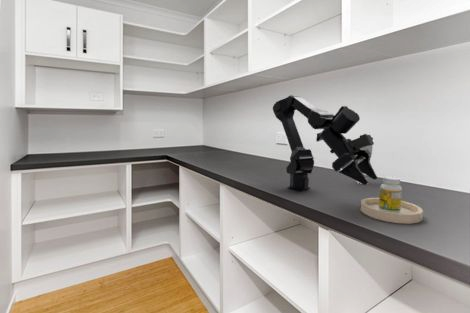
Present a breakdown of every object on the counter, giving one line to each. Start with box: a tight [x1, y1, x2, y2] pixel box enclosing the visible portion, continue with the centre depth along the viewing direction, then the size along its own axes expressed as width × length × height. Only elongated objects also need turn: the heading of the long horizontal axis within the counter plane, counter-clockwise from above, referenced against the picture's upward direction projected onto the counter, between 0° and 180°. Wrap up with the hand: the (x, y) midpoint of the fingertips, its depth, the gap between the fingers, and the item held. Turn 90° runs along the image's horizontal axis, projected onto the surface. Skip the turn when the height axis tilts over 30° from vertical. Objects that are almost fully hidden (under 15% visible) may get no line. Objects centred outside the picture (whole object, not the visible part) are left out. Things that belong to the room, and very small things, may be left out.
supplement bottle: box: [379, 176, 403, 213], centre depth 72 cm, size 5×5×10 cm
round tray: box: [360, 197, 424, 225], centre depth 72 cm, size 15×15×2 cm
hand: (371, 181), depth 75 cm, fingers open, 9 cm apart
